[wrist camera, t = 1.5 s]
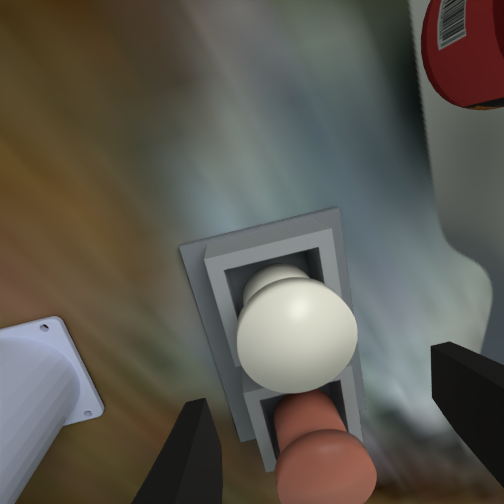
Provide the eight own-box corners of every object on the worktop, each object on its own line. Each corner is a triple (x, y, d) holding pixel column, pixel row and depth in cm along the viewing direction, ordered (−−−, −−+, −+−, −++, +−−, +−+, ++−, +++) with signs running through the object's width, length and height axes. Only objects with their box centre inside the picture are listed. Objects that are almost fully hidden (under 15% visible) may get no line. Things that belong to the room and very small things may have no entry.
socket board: (240, 435, 23) (243, 486, 19) (180, 244, 18) (169, 264, 14) (362, 403, 23) (389, 448, 19) (335, 206, 18) (363, 216, 15)
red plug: (274, 451, 19) (288, 531, 15) (258, 393, 18) (268, 463, 14) (346, 432, 19) (380, 506, 15) (336, 372, 18) (371, 436, 14)
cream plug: (245, 345, 17) (252, 405, 12) (223, 266, 15) (223, 304, 11) (328, 324, 17) (363, 376, 13) (315, 243, 15) (349, 272, 11)
